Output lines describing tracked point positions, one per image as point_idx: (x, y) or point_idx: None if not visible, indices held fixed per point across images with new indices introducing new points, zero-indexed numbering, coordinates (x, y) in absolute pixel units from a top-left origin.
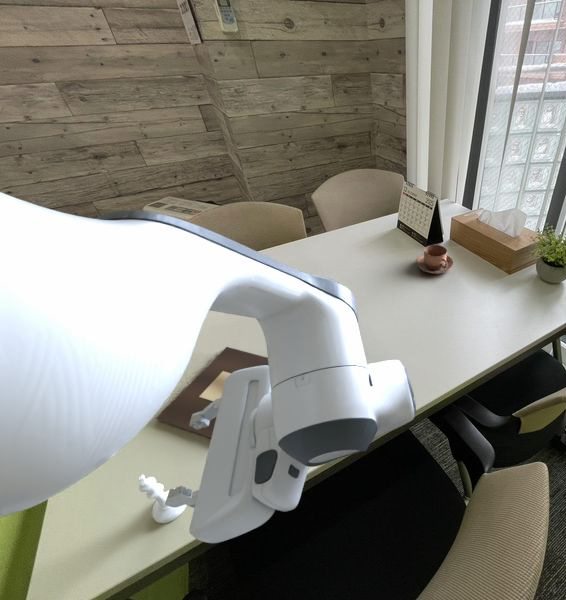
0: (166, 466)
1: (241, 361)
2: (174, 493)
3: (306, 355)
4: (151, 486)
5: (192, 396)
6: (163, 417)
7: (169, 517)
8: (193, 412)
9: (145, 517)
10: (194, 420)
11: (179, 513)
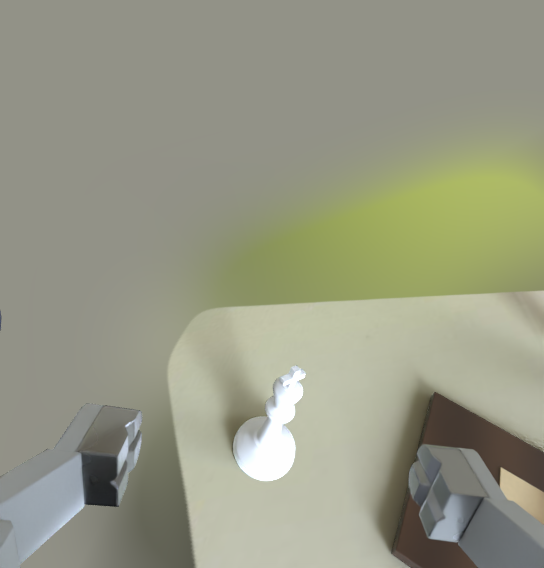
0: (342, 426)
1: None
2: (100, 430)
3: None
4: (281, 396)
5: (497, 452)
6: (438, 404)
7: (238, 448)
8: None
9: (254, 408)
10: (446, 463)
11: (242, 467)
